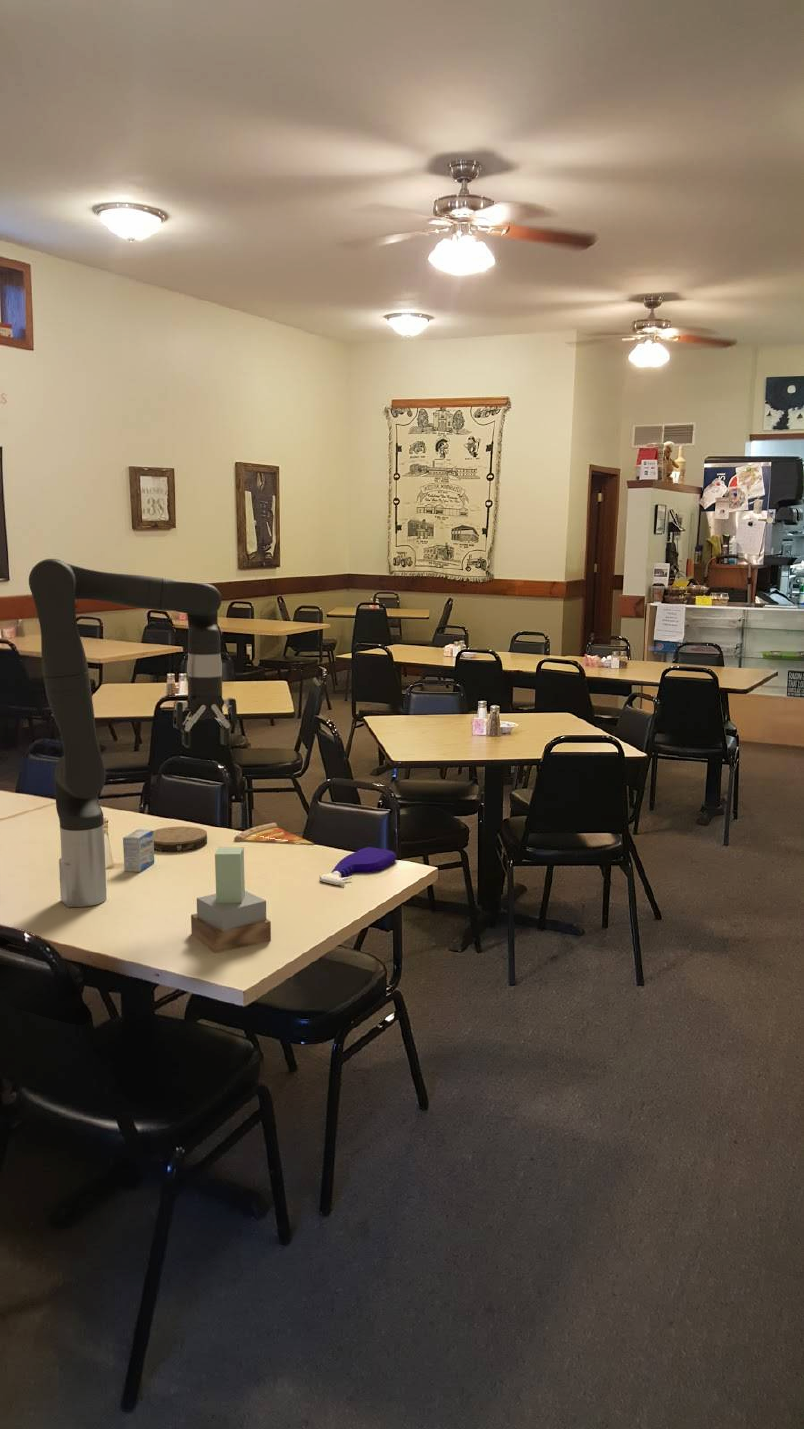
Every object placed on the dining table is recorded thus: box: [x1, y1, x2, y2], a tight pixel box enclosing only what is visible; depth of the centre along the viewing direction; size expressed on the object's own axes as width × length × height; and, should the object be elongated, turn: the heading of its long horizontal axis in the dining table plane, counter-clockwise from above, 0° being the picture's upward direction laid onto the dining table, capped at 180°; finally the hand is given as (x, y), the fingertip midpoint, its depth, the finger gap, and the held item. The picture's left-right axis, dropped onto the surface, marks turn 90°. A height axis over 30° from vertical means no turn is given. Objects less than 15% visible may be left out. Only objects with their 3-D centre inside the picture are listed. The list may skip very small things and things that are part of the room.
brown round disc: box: [153, 826, 208, 854], centre depth 269 cm, size 16×16×3 cm
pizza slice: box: [233, 822, 315, 846], centre depth 273 cm, size 16×22×2 cm
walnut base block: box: [190, 913, 272, 954], centre depth 203 cm, size 12×12×4 cm
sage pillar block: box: [214, 846, 246, 903], centre depth 201 cm, size 5×5×10 cm
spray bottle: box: [319, 846, 397, 887], centre depth 247 cm, size 3×11×24 cm
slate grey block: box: [196, 890, 267, 931], centre depth 202 cm, size 10×10×4 cm
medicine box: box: [122, 828, 155, 873], centre depth 248 cm, size 8×4×9 cm, turn 168°
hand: (206, 745), depth 226 cm, fingers open, 8 cm apart
